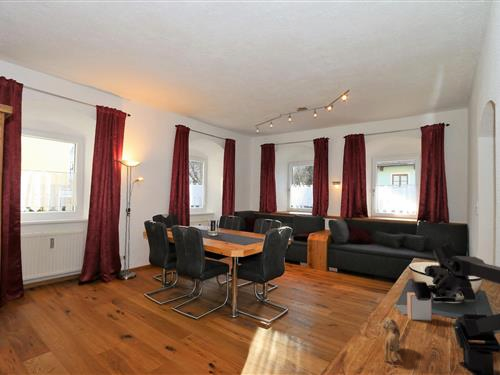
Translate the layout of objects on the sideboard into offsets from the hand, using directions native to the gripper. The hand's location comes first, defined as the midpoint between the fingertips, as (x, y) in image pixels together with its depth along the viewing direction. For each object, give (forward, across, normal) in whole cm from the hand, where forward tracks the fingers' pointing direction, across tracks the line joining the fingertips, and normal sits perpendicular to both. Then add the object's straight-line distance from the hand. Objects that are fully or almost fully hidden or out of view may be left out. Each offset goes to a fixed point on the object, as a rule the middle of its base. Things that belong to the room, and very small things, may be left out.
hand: (434, 301), depth 103 cm
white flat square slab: (+22, 0, -6) cm, 22 cm away
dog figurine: (-3, +22, +19) cm, 29 cm away
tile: (+16, 0, 0) cm, 16 cm away
